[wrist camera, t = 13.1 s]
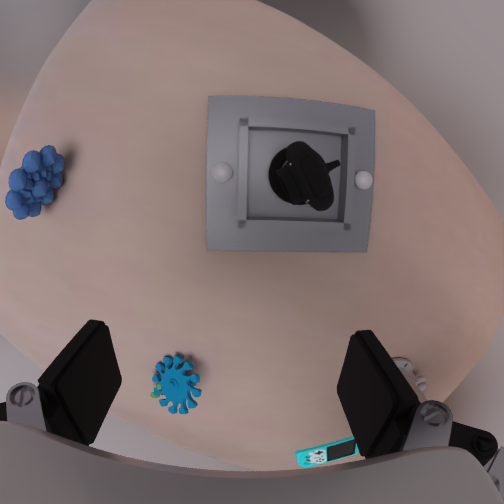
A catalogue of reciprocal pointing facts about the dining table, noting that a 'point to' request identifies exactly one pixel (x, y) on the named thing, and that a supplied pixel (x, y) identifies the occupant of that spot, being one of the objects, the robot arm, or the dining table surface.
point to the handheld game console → (327, 452)
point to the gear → (176, 385)
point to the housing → (260, 157)
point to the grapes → (34, 182)
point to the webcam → (302, 176)
